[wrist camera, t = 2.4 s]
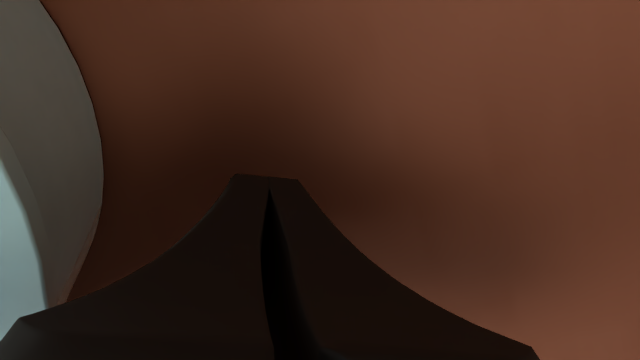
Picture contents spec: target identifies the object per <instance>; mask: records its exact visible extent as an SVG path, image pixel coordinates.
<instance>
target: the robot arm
mask: <svg viewBox="0 0 640 360" xmlns="http://www.w3.org/2000/svg"><path fill="white" fill-rule="evenodd" d="M0 360H540V359H539V358H538V356H537V354H536V353H535V352H534V350H533V349H532V347H530V346H528V345H525V344H523V343H520V342H518V341H515V340H513V339H510V338H508V337H505V336H502V335H500V334H497V333H495V332H492V331H490V330H487V329H485V328H482V327H480V326H478V325H475V324H473V323H471V322H469V321H467V320H465V319H463V318H461V317H459V316H457V315H455V314H453V313H451V312H449V311H447V310H445V309H443V308H441V307H439V306H437V305H436V304H434V303H432V302H430V301H428V300H427V299H425V298H423V297H422V296H420V295H419V294H417V293H416V292H414V291H412V290H411V289H409V288H408V287H406V286H404V285H403V284H401V283H400V282H398V281H397V280H396V279H394V278H393V277H391V276H390V275H389V274H387V273H386V272H385V271H384V270H382V269H381V268H380V267H378V266H377V265H376V264H375V263H373V262H372V261H371V260H370V259H368V258H367V257H366V256H365V255H364V254H363V253H361V252H360V251H359V250H358V249H357V248H356V247H355V246H354V245H353V244H352V243H351V242H350V241H349V240H348V239H347V238H346V237H345V236H344V235H343V234H342V233H341V232H340V231H339V230H338V229H337V228H336V227H335V226H334V224H333V223H332V222H331V221H330V220H329V219H328V218H327V216H326V215H325V214H324V213H323V212H322V210H321V209H320V208H319V207H318V205H317V204H316V203H315V201H314V200H313V199H312V197H311V196H310V195H309V193H308V192H307V191H306V190H305V188H304V187H303V186H302V184H301V183H300V182H299V181H298V179H287V178H277V177H266V176H256V175H246V174H235V175H234V176H233V177H231V178H230V180H229V183H228V185H227V186H226V188H225V190H224V191H223V193H222V194H221V195H220V197H219V198H218V200H217V201H216V202H215V203H214V205H213V206H212V207H211V208H210V209H209V211H208V212H207V213H206V214H205V215H204V217H203V218H202V219H201V220H200V221H199V222H198V223H197V224H196V225H195V226H194V227H193V228H192V229H191V230H190V231H189V232H188V233H187V234H186V235H185V236H184V237H183V238H181V239H180V240H179V241H178V242H177V243H176V244H175V245H173V246H172V247H171V248H170V249H168V250H167V251H166V252H164V253H163V254H162V255H160V256H159V257H158V258H156V259H155V260H154V261H152V262H150V263H149V264H147V265H145V266H144V267H142V268H140V269H139V270H137V271H135V272H134V273H132V274H130V275H129V276H127V277H125V278H123V279H121V280H119V281H117V282H115V283H113V284H111V285H109V286H107V287H105V288H102V289H100V290H97V291H95V292H93V293H90V294H88V295H86V296H83V297H81V298H78V299H75V300H73V301H70V302H67V303H64V304H61V305H58V306H54V307H51V308H48V309H45V310H42V311H39V312H36V313H33V314H29V315H26V316H22V317H19V318H18V319H17V320H16V322H15V323H14V324H13V325H12V327H11V328H10V329H9V331H8V332H7V333H6V335H5V336H4V337H3V339H2V340H1V341H0Z"/></svg>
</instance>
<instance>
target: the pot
mask: <svg viewBox="0 0 640 360" xmlns="http://www.w3.org/2000/svg"><path fill="white" fill-rule="evenodd" d="M103 178H104V171H103V159H102V148H101V139H100V134H99V130H98V126H97V121H96V117H95V113H94V109H93V104H92V102H91V99H90V96H89V94H88V91H87V88H86V86H85V83H84V80H83V78H82V75H81V73H80V70H79V67H78V65H77V63H76V61H75V60H74V58H73V56H72V54H71V52H70V50H69V48H68V46H67V44H66V42H65V41H64V39H63V37H62V35H61V33H60V31H59V29H58V27H57V26H56V25H55V23H54V22H53V20H52V19H51V17H50V16H49V14H48V13H47V11H46V10H45V9H44V7H43V6H42V4H41V3H40V1H39V0H0V341H1V340H2V339H3V337H4V336H5V335H6V333H7V332H8V331H9V329H10V328H11V327H12V325H13V324H14V323H15V322H16V320H17V319H18V318H19V317H22V316H26V315H29V314H33V313H36V312H39V311H42V310H45V309H48V308H51V307H54V306H58V305H61V304H64V303H65V302H66V300H67V298H68V296H69V294H70V291H71V289H72V287H73V285H74V283H75V281H76V278H77V276H78V274H79V272H80V270H81V267H82V265H83V263H84V261H85V258H86V256H87V253H88V251H89V249H90V246H91V244H92V241H93V239H94V236H95V233H96V229H97V224H98V220H99V215H100V211H101V207H102V194H103Z"/></svg>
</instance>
